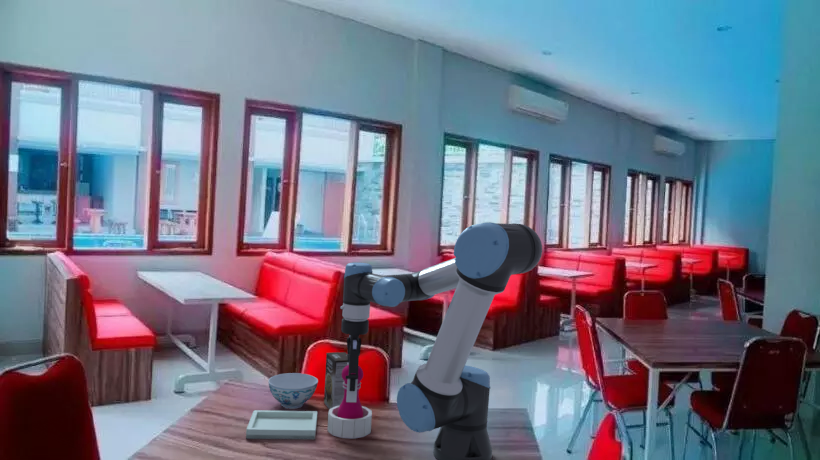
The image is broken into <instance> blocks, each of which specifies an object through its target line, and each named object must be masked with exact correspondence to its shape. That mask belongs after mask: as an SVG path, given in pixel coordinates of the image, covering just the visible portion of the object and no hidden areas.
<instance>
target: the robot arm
mask: <svg viewBox="0 0 820 460" xmlns="http://www.w3.org/2000/svg"><path fill="white" fill-rule="evenodd" d="M542 253H543V245H542V241H541V238H540V236H539V235H538V233H537V232H536V230H534V229H533V228H531V227H530V226H528V225H526V224H523V223H500V222H499V223H495V222H487V221H486V222H482V223H476V224H472V225H469V226H468V227H466V228H465V229H463V230H462V232H461V233H460V234H459V235H458V237H457V239H456V241H455V244H454V249H453V256H454V257H453V258H451V259H448V260H446V261H442V262H440V263H437V264H435V265H432V266H429V267H426V268H424V269H422V270H419V271H416V272H412V273H406V274H405V273H403V274H402V273H401V274H388V275H383V274H376V273H374V272H373V266H372V264H370V263H366V262H349V263H347V264H346V265H345V268H344V269H345V270H344V277H343V294H342V295H343V296H342V302H343V303H342V305H341V306H340V309H341V310H342V314H341V315H342V319H341V325H340V326H341V332H342V333H343V334H346V335H349V336H348V337H347V338H346V347H347V354H348V355H347V357H348V359H347V361H348V362H349V363H347V365H349V374H348V376H346V379H348V381H347V397H346V402H356V400H357V384H358V377H359V376H358V366H360V365H359V363H360V362H359V360H360V359H359V358H360V357H359V356H360V355H361V347H362V338H361V337H360V336H361V335H362V336H363V335H367V333H369V328H370V327H369V324H370V320H369V318H370V313H371V312H370V311H371V303H374V304H377V305H380V306H382V307H389V308H391V307H393V308H394V307H397V306H399V304H402V303H403V302H404V303H405V302H412V301H425V300H428V299H432V298H433V297H434V296H435V295H438V294H441V293H443V292H444V293H445V292H447V291H451V290H454V293H453V295H452V297H451V300H450V302H449V306H448V308H447V310H446V313H445V316H444V319H443V321H442V323H441V325H440V328H439V330H438V333H437V336H436V337H435V340H434V341H435V342H434V343H433V346H432V348H431V350H430V353H429V356H428V357H427V361H426V363H423V364H421V365H419V366H418V367H417V369H416V371H415V374H414V376H413V379H412V381H411V382H407V383H404V385H402V386H401V387H400V388H399V389H398V392H397V395H396V408H397V410H398V414H399V416H400V419H401V420H402V422H403V423H404V425H406V427H407V428H408V429H410V430H411V431H413V432H416V433H425V432H431V431H433V430H436V429H439V431H438V433H437V435H436V437H435V441H434V442H433V451H432V452H433V456H434V457H435V458H436V459H437V460H492V459H491V458H492V457H493V448H492V444H491V440H490V436H489V432H488V415H489V406H490V405H489V403H490V389H491V383H490V382H491V377H490V374H489V373H488V372H487V371H485V370H484V369H481V368H478V367H475V366H471V365H467V361H468V360H469V357H470V354H471V353H472V350H473V347H474V346H475V343H476V341H477V338H478V335H479V333H480V332H481V329H482V326H483V324H484V322H485V319H486V318H487V317H486V316H487V315H488V312H489V309H490V307H491V304H492V303H493V300H494V298H495V295H499V294H502V293H504V291H505V289H506V287H507V285H508V282H509V280H510V277H511V276H512V275H513V276H515V275H520V274H526V273H528V272H530V271H532V270H533V269H534V268H536V266H537V265H538V263H540V260H541V258H542V255H543V254H542ZM351 373H355V374H351Z"/></svg>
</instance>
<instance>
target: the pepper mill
mask: <svg viewBox="0 0 820 460" xmlns="http://www.w3.org/2000/svg"><path fill="white" fill-rule="evenodd" d="M348 374H349V365H347V366H346V367H344V369H343V370H342V378H343V380H344V382H343V388H344V398H343V401H342V403H341V404H340V406H339V409H338V413H337V417H340V418H344V419H358V418H363V409H362V406H363V405H362V404H361V401H360V397H359V395H360V394H359V392H360V389H361V384H362V382H361V381H362V379H363V378H364V371H363V369H362V367H361V366H360V365H358V376H359V377H358V384H357V400H356V402H346V397H347V381H348V379H346V376H348ZM351 374H355V373H351Z"/></svg>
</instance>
